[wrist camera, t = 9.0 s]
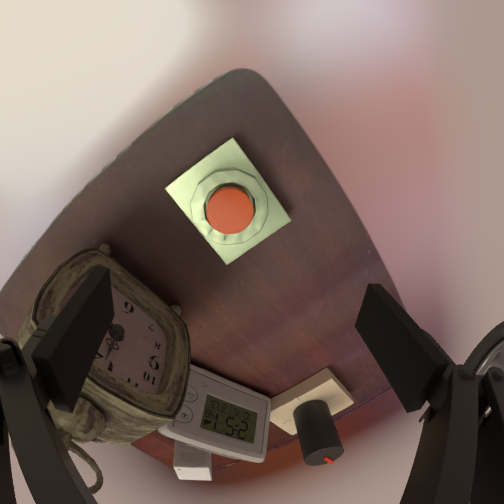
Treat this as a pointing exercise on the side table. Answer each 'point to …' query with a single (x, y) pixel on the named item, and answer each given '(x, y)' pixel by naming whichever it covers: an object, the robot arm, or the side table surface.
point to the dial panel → (309, 398)
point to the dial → (317, 433)
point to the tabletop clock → (119, 358)
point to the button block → (219, 175)
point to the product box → (191, 462)
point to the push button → (229, 210)
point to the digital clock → (221, 418)
